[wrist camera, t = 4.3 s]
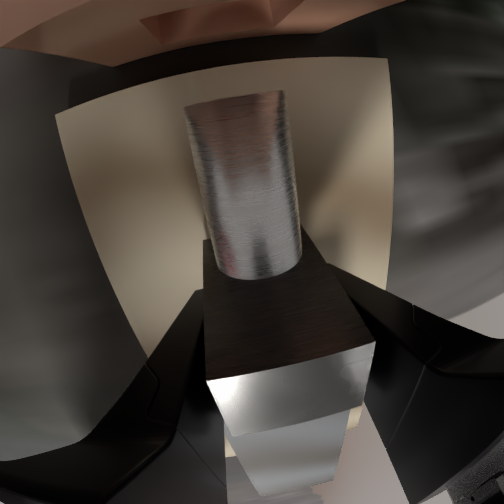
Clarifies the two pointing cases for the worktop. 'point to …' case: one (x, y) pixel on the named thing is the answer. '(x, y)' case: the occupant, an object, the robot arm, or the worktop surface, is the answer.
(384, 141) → the sleeve mount
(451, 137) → the worktop surface
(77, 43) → the socket block
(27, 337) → the worktop surface
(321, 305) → the hammer
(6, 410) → the worktop surface
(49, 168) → the worktop surface
